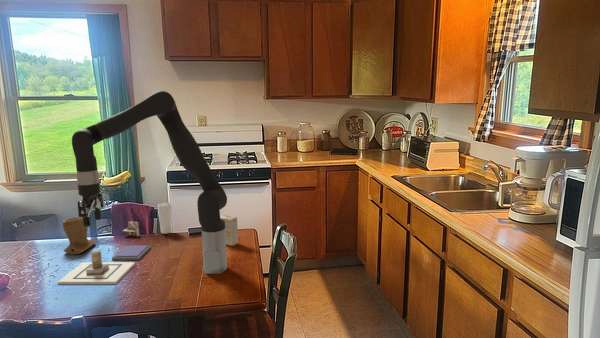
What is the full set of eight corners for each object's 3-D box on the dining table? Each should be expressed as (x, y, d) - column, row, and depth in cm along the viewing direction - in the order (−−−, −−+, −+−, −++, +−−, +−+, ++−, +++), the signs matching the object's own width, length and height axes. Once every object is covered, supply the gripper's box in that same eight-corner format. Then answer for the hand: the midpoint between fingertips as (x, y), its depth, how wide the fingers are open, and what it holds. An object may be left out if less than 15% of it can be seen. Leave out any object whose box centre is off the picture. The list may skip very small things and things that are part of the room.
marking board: (115, 284, 157) (115, 281, 157) (57, 284, 158) (57, 281, 157) (135, 264, 175) (134, 261, 175) (83, 264, 175) (82, 261, 175)
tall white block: (159, 235, 210) (156, 206, 207) (159, 231, 217) (157, 202, 214) (173, 233, 212) (171, 205, 209) (173, 229, 218) (171, 201, 216)
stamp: (101, 274, 163) (99, 255, 162) (86, 274, 163) (84, 255, 162) (109, 268, 169) (107, 249, 168) (94, 268, 169) (92, 249, 168)
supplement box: (238, 243, 198) (237, 217, 195) (232, 246, 194) (230, 219, 191) (225, 240, 202) (224, 214, 200) (218, 243, 198) (217, 217, 196)
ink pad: (138, 260, 179) (138, 256, 179) (112, 260, 180) (111, 256, 179) (150, 248, 193) (150, 244, 193) (126, 248, 193) (125, 244, 193)
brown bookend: (74, 243, 200) (70, 213, 197) (99, 243, 200) (96, 213, 197) (56, 256, 185) (52, 223, 182) (83, 255, 185) (79, 223, 182)
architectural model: (135, 238, 207) (134, 224, 206) (123, 237, 209) (121, 223, 207) (139, 236, 210) (138, 222, 209) (127, 235, 212) (126, 221, 211)
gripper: (88, 186, 152) (93, 228, 155) (107, 178, 166) (111, 217, 169) (68, 186, 152) (73, 229, 155) (88, 178, 166) (92, 217, 169)
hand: (92, 222), depth 162 cm, fingers open, 8 cm apart
